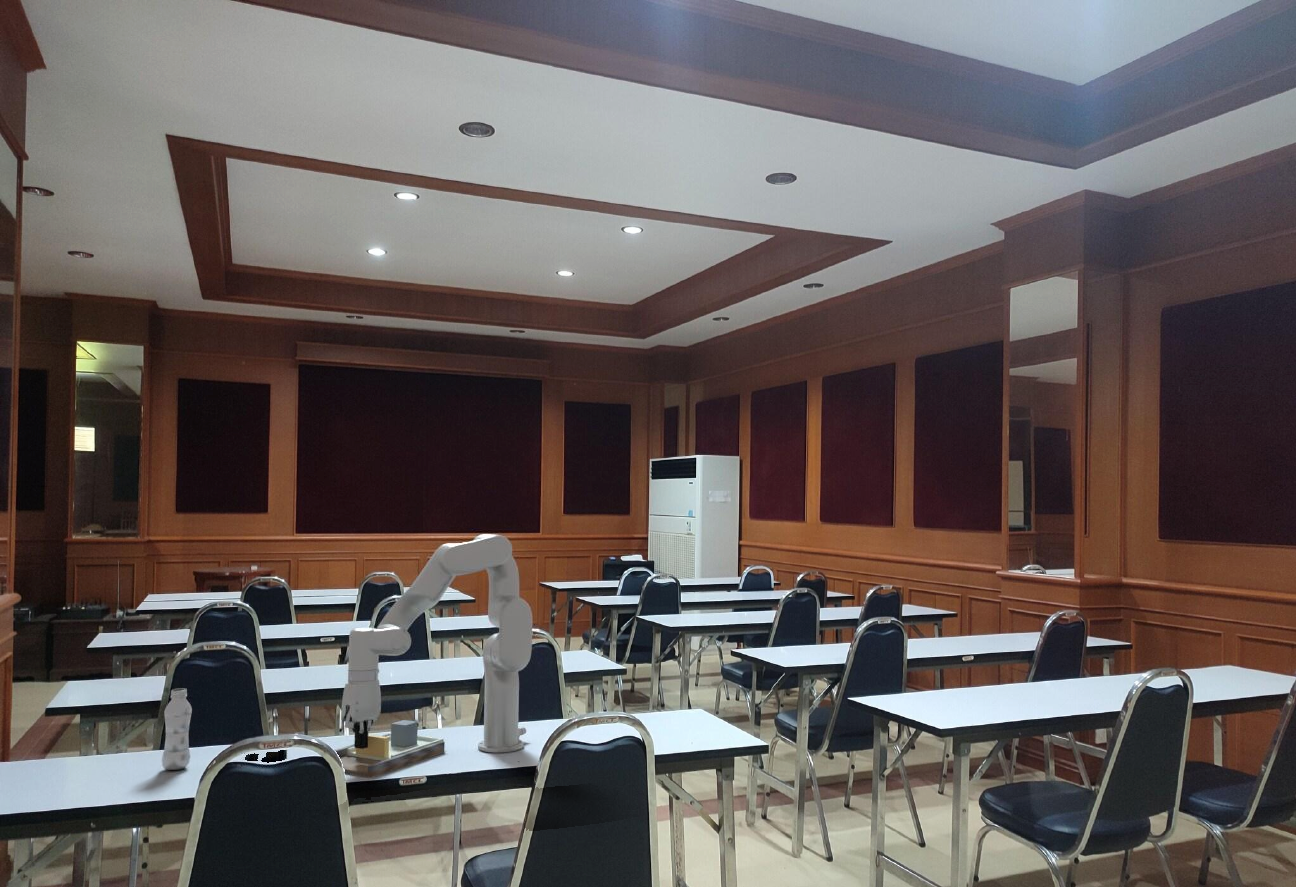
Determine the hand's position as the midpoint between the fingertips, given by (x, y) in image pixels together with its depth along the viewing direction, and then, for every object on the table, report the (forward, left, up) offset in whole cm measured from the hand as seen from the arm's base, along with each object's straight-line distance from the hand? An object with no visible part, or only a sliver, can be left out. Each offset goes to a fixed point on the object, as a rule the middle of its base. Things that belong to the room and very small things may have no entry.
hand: (361, 747), depth 237 cm
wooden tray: (-13, 0, -4) cm, 14 cm away
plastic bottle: (+24, -40, -5) cm, 47 cm away
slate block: (-16, 0, -3) cm, 16 cm away
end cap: (+14, -19, -5) cm, 24 cm away
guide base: (-7, 0, -5) cm, 9 cm away
